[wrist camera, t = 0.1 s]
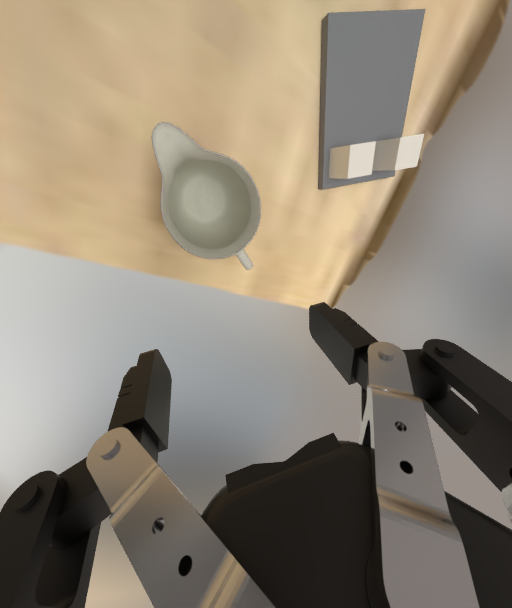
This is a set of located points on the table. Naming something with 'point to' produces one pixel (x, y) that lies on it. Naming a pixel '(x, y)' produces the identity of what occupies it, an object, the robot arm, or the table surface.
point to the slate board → (365, 81)
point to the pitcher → (205, 197)
